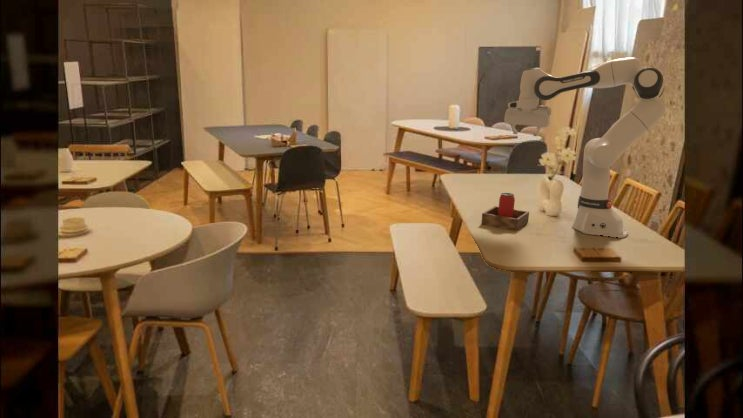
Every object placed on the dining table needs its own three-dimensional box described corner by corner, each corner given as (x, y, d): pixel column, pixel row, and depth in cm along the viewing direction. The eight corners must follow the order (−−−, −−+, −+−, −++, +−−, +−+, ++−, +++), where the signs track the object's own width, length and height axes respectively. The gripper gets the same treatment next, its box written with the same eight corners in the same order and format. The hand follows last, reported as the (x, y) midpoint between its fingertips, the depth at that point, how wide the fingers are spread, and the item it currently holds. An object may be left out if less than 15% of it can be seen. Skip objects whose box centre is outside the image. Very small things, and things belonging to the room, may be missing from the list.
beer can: (513, 223, 249) (515, 196, 246) (497, 222, 250) (500, 195, 247) (512, 219, 255) (514, 193, 252) (497, 218, 256) (499, 192, 253)
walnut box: (528, 222, 256) (529, 211, 255) (517, 230, 242) (518, 219, 241) (493, 216, 264) (494, 206, 262) (481, 224, 250) (482, 213, 249)
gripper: (553, 105, 256) (549, 136, 259) (508, 102, 266) (506, 132, 269) (549, 106, 250) (546, 138, 254) (504, 103, 260) (501, 133, 264)
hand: (525, 135), depth 262 cm, fingers open, 8 cm apart
